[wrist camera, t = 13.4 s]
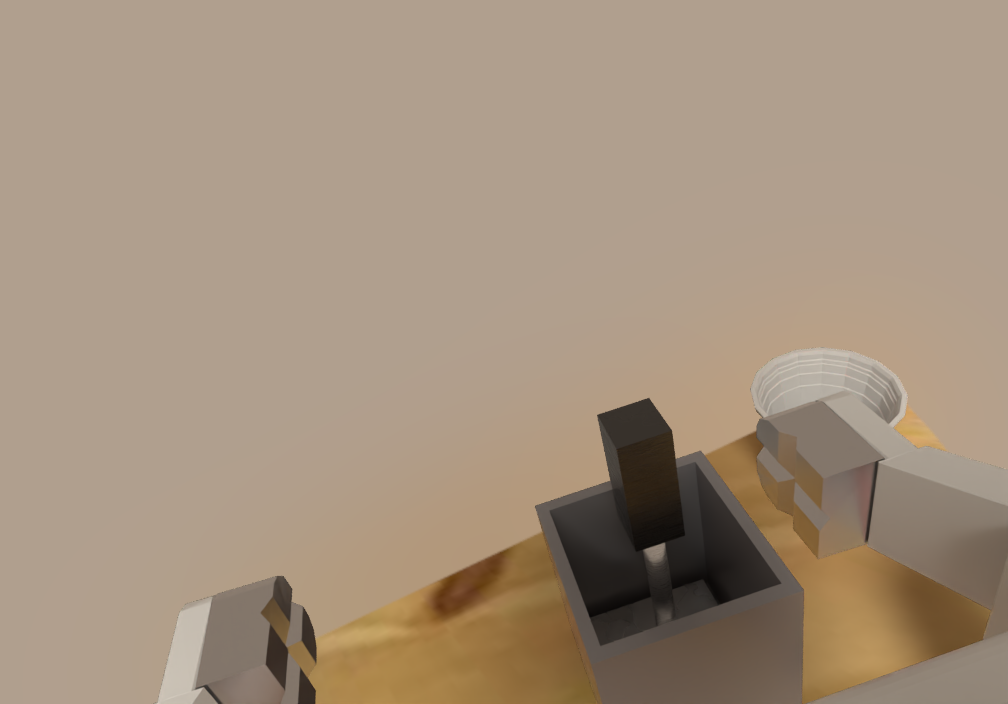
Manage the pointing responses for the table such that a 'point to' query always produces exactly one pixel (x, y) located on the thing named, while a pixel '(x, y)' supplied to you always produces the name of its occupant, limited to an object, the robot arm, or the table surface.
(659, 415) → the plunger
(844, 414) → the robot arm
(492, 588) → the table surface
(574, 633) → the box
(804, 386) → the plastic cup
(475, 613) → the table surface
